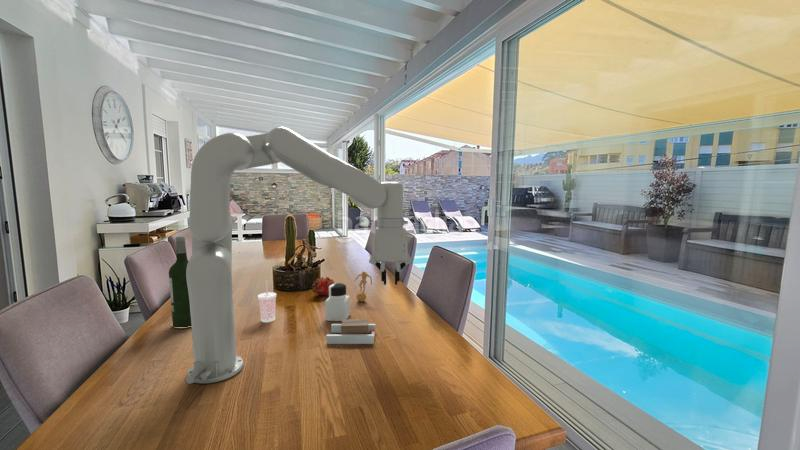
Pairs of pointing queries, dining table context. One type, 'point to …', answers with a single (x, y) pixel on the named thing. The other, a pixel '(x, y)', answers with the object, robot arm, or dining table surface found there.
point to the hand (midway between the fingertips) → (390, 283)
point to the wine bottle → (180, 286)
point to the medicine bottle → (337, 303)
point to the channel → (350, 336)
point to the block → (354, 326)
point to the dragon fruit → (322, 286)
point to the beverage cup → (267, 305)
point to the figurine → (361, 295)
